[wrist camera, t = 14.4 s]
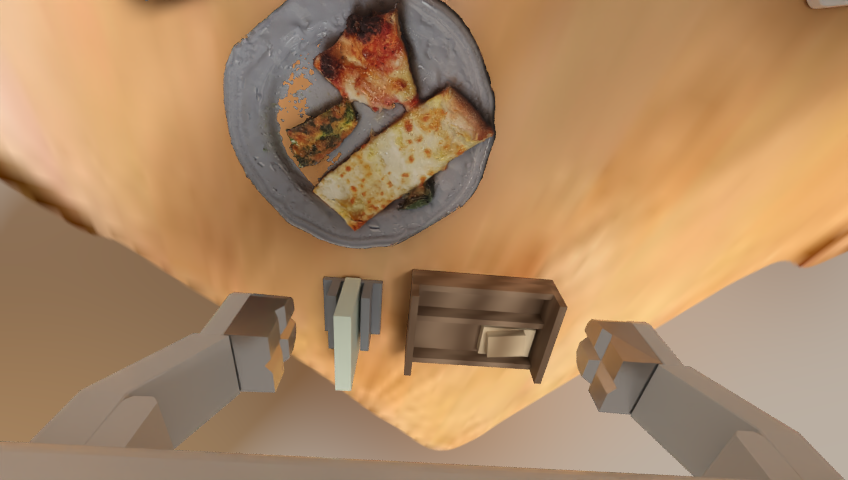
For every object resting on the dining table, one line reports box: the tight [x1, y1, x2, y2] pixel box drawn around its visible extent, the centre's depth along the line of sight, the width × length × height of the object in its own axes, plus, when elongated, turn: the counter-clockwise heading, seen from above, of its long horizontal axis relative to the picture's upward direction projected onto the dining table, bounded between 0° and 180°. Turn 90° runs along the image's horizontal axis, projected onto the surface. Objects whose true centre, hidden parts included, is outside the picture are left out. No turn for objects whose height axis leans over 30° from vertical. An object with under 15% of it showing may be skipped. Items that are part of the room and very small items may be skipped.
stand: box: [323, 277, 383, 351], centre depth 45 cm, size 7×8×4 cm
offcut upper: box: [486, 330, 526, 357], centre depth 46 cm, size 4×3×1 cm
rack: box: [404, 269, 567, 384], centre depth 45 cm, size 17×12×5 cm
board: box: [333, 277, 361, 391], centre depth 43 cm, size 11×2×7 cm, turn 174°
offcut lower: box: [477, 325, 536, 357], centre depth 47 cm, size 6×4×1 cm
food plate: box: [224, 0, 496, 249], centre depth 35 cm, size 25×23×4 cm
